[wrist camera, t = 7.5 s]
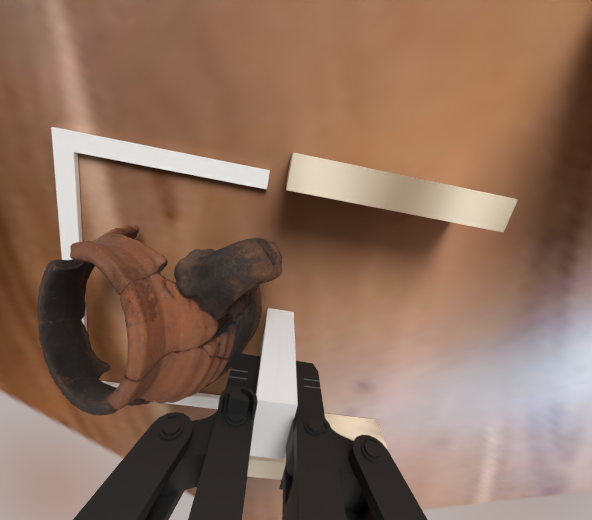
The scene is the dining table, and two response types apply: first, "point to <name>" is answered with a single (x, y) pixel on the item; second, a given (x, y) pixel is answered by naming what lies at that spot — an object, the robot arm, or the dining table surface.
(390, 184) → the rail cradle
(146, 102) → the dining table surface
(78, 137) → the tape bay
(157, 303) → the pottery mug
